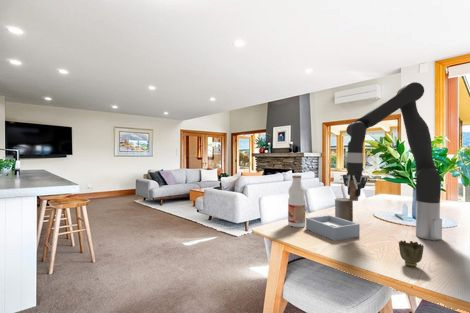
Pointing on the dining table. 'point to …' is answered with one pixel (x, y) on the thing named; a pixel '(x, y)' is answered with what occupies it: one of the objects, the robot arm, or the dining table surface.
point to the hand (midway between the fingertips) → (353, 195)
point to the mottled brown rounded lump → (411, 252)
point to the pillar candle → (344, 209)
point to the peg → (353, 191)
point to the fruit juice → (296, 203)
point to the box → (333, 227)
